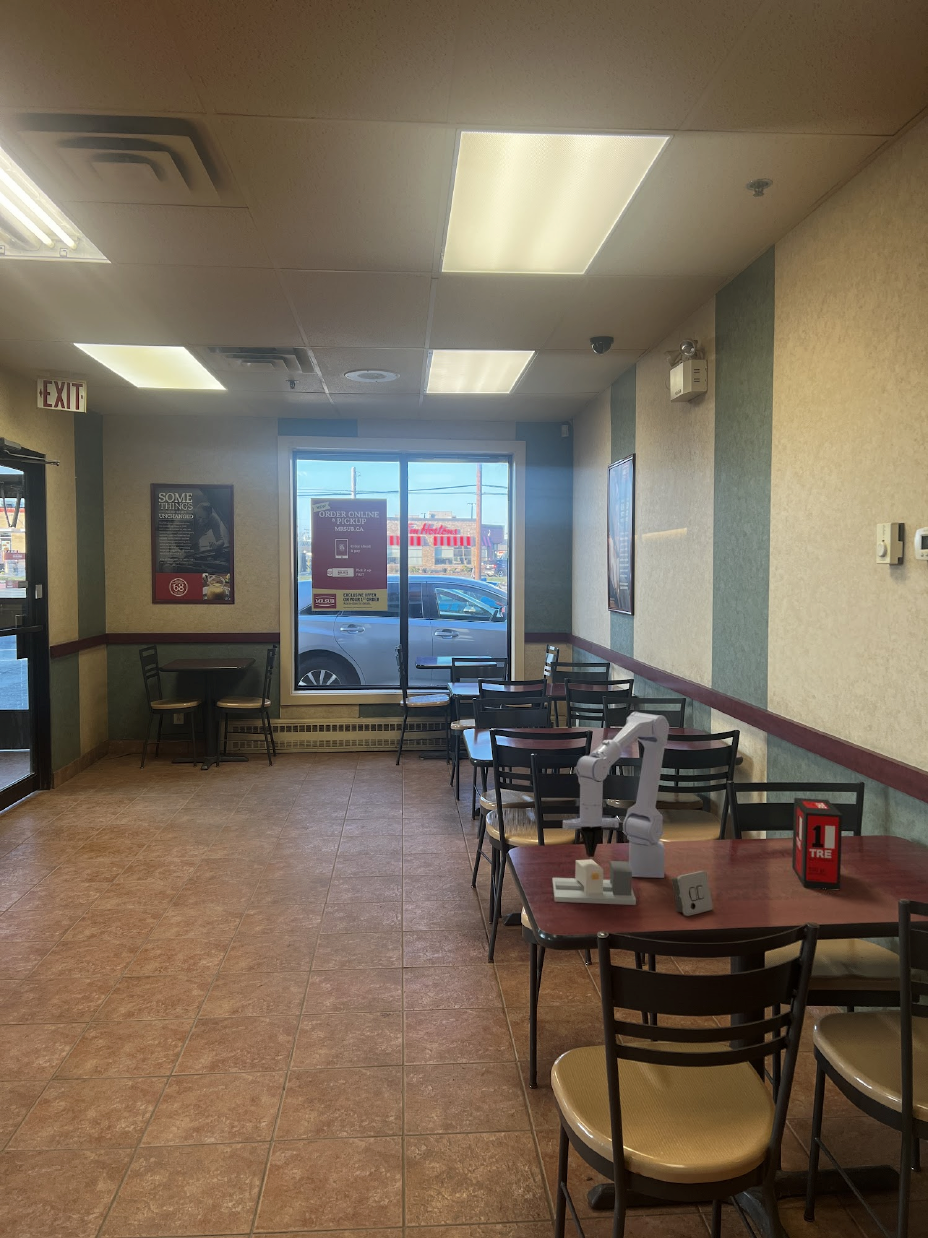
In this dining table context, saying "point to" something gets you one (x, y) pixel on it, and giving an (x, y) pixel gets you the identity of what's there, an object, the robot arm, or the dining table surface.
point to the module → (589, 876)
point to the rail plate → (613, 889)
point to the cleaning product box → (817, 843)
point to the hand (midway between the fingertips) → (590, 855)
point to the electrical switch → (692, 893)
